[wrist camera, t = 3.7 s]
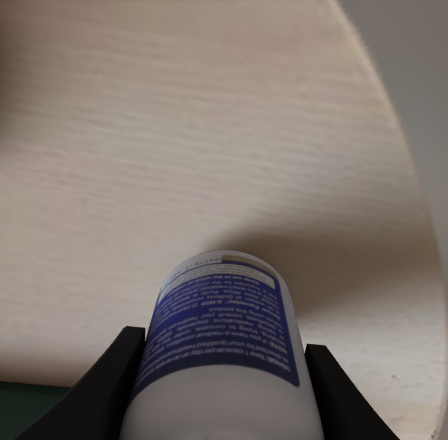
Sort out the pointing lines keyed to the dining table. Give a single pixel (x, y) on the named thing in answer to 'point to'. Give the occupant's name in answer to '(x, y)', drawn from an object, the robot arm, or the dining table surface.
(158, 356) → the pill bottle
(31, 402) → the long green tray
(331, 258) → the dining table surface
